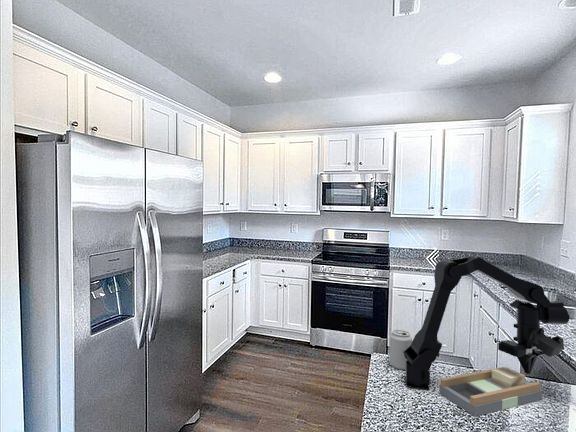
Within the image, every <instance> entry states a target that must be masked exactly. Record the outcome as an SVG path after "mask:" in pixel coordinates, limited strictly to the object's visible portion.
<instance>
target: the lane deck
mask: <svg viewBox="0 0 576 432" xmlns="http://www.w3.org/2000/svg"><path fill="white" fill-rule="evenodd" d="M503 367H504V366H502V367H499V368H503ZM497 368H498V367H497ZM497 368H496V367H495V368H494V369H497ZM492 369H493V368H491V369H485V370H479V371H474V372H468V373H463V374H458V375H453V376H447V377H442V378H440V379H439V381H440V383H439V389H438V390H439V392H438V393H439V394H440V395H441V396H442V397H445V398H446V399H448V400H449V401H450V402H452V403H454V404H455V405H456V406H457V407H460V408H461V409H463V410H464V411H466V412H467V413H469V414H471V415H472V416H473V417H479V416H482V415H486V414H490V413H493V412H498V411H503V410H506V409H510V408H514V407H518V406H522V405H527V404H530V403H535V402H539V401H542V400H543V391H542V385H541V383H540V382H538V381H535V382H530V383H529V382H528V383H525V384H524V385H520V386H515V387H510V388H505V387H503V386H501V385H499V384H497V383H495V382H493V381H492Z"/></svg>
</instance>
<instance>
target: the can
mask: <svg viewBox="0 0 576 432" xmlns="http://www.w3.org/2000/svg"><path fill="white" fill-rule="evenodd" d="M412 341H413V337H412V336H411V332H409V331H408V330H403V329H392V330H391V333H390V334H389V348H388V349H389V354H388V355H389V359H388V361H389V364H390V365H391V367H392V368H394V369H397V370H401V371H406V361H408V360H407V359H406V358H405V356H404V353H403V352H404V351H405V350H406V349H407V348H408V347H409V346H410V345H411V343H412Z"/></svg>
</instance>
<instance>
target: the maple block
mask: <svg viewBox="0 0 576 432" xmlns="http://www.w3.org/2000/svg"><path fill="white" fill-rule="evenodd" d="M502 367H503V368H500V367H497V369H495V368H491V369H492V381H493V382H495V383H497V384H499V385H501V386H503V387H505V388H510V387H515V386H520V385H524V384H526V375H525V374H523V373H520V372H518V371H517V370H513V369H511V368H509V367H506V366H502Z"/></svg>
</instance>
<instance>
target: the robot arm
mask: <svg viewBox="0 0 576 432" xmlns="http://www.w3.org/2000/svg"><path fill="white" fill-rule="evenodd" d="M476 271H477V272H479V273H480V274H482V275H484V276H485V277H488V278H490V279H491V280H493V281H495V282H497V283H498V284H501V285H502V286H504V287H505V288H506V289H507V290H508V291H509V292H510V293H511V294H513V295H514V296H515V297H517V298H519V299H521V300H519V299H515V300H514V301H513V302H511V303H509V306H510V308H511V307H512V308H515V309H516V323H513V328H515V329H516V336H513V340H510V339H507V340H500V341H499V342H498V343H497V350H499V351H500V352H503V353H506V354H508V355H510V356H513V357H515V358H517V360H518V361H519V364H520V365H521V368H522V370H523V372H524V373H525V374H527V375H530V374H531V373H532V371H533V368H534V367H535V363H536V362H537V359H538V358H539V357H542V356H543V355H546V356H547V357H550V358H551V357H554V356H559V355H560V353H561V351H563V350H565V347H564V346H565V342H564V338H562V337H561V336H559V335H555V336H553V337H552V336H548V335H546V334H545V330H544V328H543V327H540V325H541V323H542V324H544V325H545V324H546V325H547V324H548V325H567V324H568V323H569V322H570V314H569V312H568V310H567V308H566V307H565V305H564V302H562V301H558V300H556V301H555V300H554V301H550V300H549V298H548V297H547V296H546V294H545V291H544V287H543V286H541V285H540V284H537V283H535V282H532V281H531V282H530V281H528V280H525V279H521V278H518V277H516V276H514V275H512V274H510V273H509V272H507V271H505V270H504V269H501V268H500V267H498V266H496V265H494V264H493V263H491V262H489V261H487V260H485V259H484V258H483V257H480V256H475V255H470V256H466V257H462V258H455V259H451V260H448V259H443V260H440V261H438V262H437V263H436V265H435V268H434V289H433V292H432V295H431V299H430V301H429V304H428V308H427V311H426V314H425V317H424V321H423V323H422V327H421V328H420V330H418V331H417V333H416V334H415V335H414V337H413V338H412V343H411V345H410V346H409V347H408V348H407V349H406V350H405V351H404V352H403V353H404V356H405V358H406V359H407V360H408V361H406V370H405V375H404V381H405V386H406V387H407V388H412V389H419V390H420V389H421V390H427V391H428V390H429V391H430V385H431V371H430V369H431V367H432V365H433V363H434V362H435V361H436V359H438V358H439V357H440V351H441V349H442V346H443V343H442V342H440V341H439V340H438V334H439V331H440V328H441V324H442V320H443V318H444V316H445V315H444V314H445V311H446V308H447V304H448V302H449V299H450V296H451V293H452V291H453V290H454V289H455V288H456V287H457V286H458V285H459V283H460V281H461V279H462V277H464V276H467V275H470V274H473V273H475V272H476ZM522 300H524V301H526V302H522ZM534 304H535V305H534Z"/></svg>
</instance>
